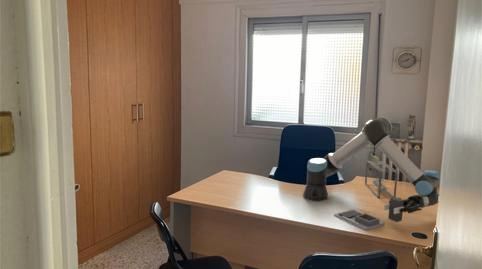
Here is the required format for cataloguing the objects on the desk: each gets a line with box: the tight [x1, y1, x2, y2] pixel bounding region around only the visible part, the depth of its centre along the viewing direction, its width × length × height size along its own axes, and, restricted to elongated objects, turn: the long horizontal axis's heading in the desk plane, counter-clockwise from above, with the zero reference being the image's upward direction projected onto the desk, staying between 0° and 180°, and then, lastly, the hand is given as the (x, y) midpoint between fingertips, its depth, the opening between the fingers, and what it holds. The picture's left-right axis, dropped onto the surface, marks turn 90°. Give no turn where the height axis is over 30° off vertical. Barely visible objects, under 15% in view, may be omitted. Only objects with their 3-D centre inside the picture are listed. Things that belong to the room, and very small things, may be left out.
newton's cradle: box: [364, 160, 399, 199], centre depth 240 cm, size 30×10×18 cm, turn 178°
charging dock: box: [333, 209, 385, 231], centre depth 193 cm, size 21×14×4 cm, turn 32°
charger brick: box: [387, 196, 404, 223], centre depth 187 cm, size 5×4×11 cm
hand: (389, 209), depth 184 cm, fingers closed on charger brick, 5 cm apart
